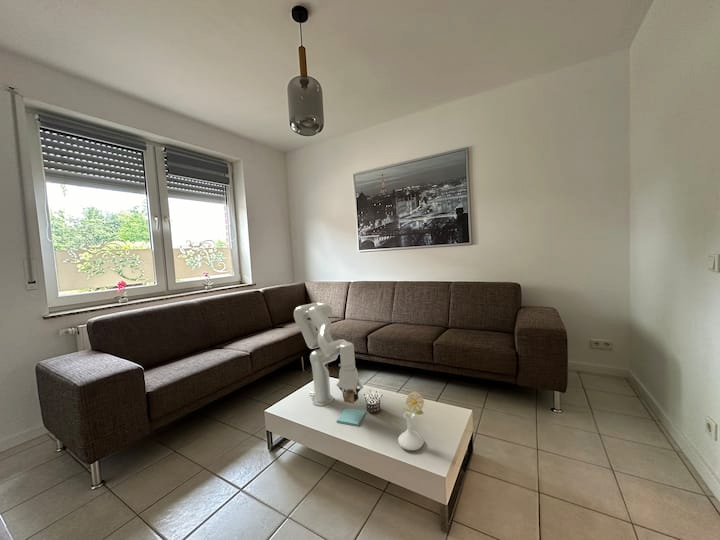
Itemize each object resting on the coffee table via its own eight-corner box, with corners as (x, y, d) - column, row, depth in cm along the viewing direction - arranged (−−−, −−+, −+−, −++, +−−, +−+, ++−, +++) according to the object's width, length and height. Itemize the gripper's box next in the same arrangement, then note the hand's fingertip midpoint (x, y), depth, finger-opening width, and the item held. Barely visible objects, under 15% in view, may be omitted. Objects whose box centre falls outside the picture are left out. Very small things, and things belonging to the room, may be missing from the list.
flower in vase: (394, 448, 126) (390, 394, 125) (404, 433, 136) (401, 383, 134) (422, 457, 119) (419, 400, 118) (430, 441, 129) (428, 388, 127)
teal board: (336, 422, 148) (336, 420, 148) (346, 410, 159) (345, 408, 159) (357, 426, 144) (357, 424, 144) (365, 413, 155) (365, 411, 155)
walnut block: (344, 402, 149) (343, 393, 149) (348, 397, 154) (347, 388, 154) (353, 403, 147) (352, 394, 147) (357, 398, 152) (356, 389, 152)
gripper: (330, 368, 149) (333, 401, 150) (360, 370, 143) (363, 405, 144) (336, 362, 156) (339, 394, 157) (365, 364, 150) (368, 397, 151)
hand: (350, 399), depth 151 cm, fingers closed on walnut block, 5 cm apart
